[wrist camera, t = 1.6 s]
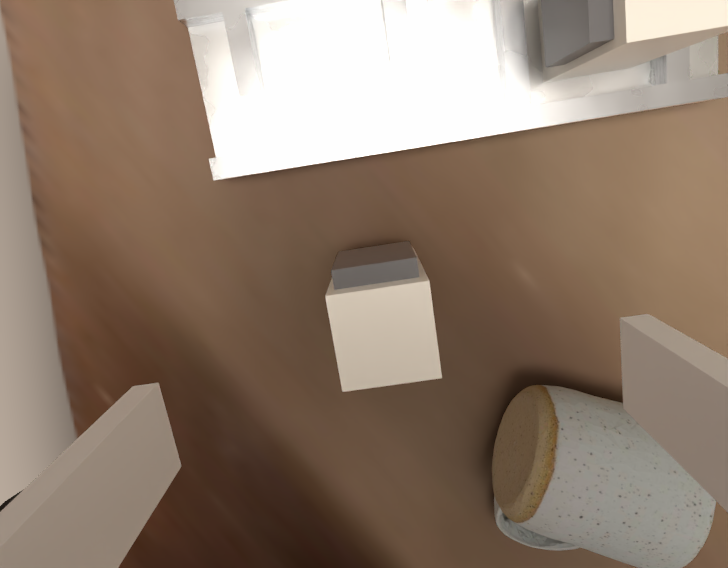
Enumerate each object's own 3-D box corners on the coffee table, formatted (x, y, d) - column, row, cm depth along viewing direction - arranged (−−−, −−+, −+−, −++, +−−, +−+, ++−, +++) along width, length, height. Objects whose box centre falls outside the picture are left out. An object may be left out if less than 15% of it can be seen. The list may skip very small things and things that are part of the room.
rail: (701, 101, 25) (735, 95, 23) (227, 178, 26) (213, 180, 24) (701, -81, 23) (738, -109, 21) (191, 11, 24) (172, -5, 22)
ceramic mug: (515, 355, 28) (565, 428, 21) (654, 391, 29) (751, 475, 21) (458, 512, 31) (484, 626, 23) (585, 543, 31) (651, 665, 24)
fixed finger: (630, 68, 24) (757, 20, 16) (526, 85, 24) (600, 47, 16) (626, -27, 23) (759, -127, 15) (519, -8, 23) (594, -96, 15)
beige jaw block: (350, 328, 28) (342, 391, 20) (336, 243, 27) (321, 276, 19) (422, 318, 28) (442, 378, 20) (411, 232, 27) (426, 260, 19)
